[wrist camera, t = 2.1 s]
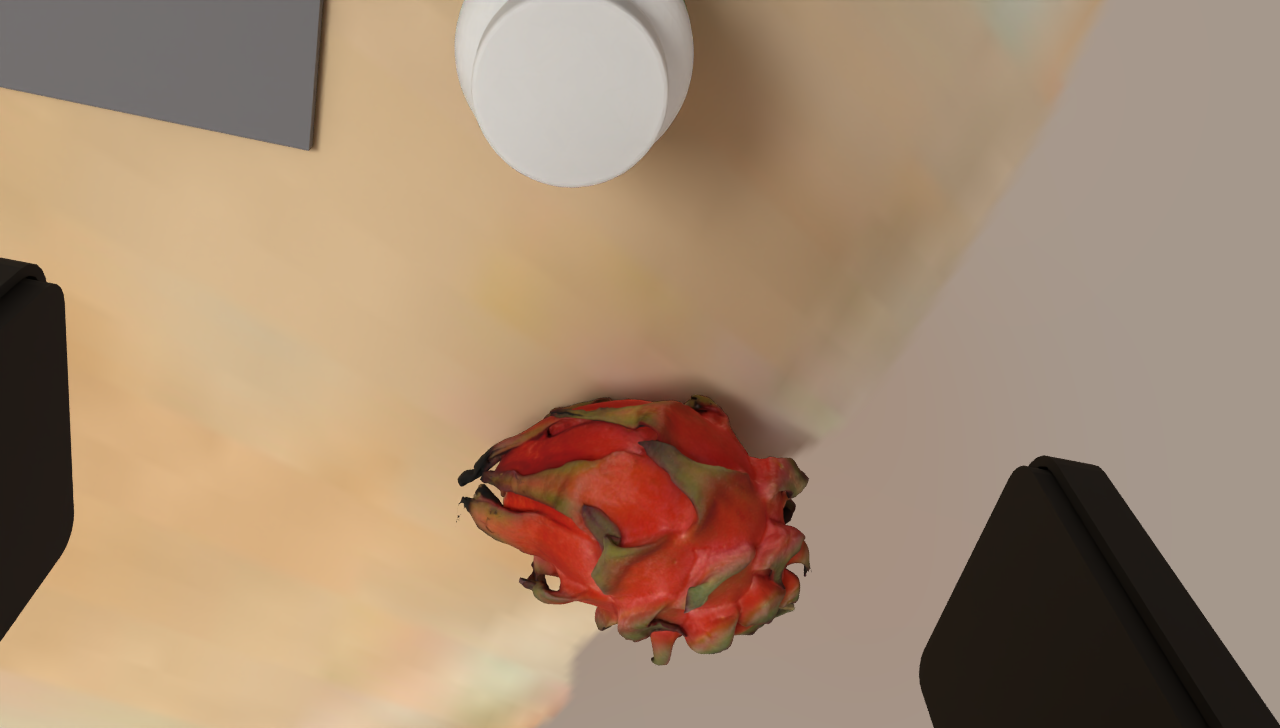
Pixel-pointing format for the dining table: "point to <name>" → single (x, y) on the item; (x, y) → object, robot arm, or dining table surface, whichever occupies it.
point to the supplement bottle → (574, 81)
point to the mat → (173, 60)
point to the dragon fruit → (648, 519)
